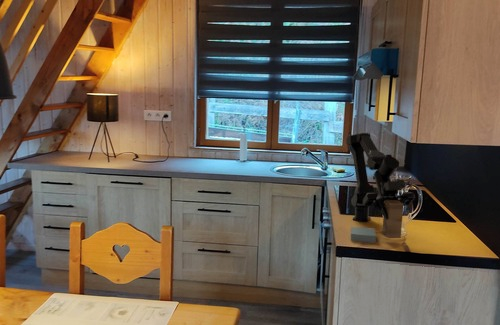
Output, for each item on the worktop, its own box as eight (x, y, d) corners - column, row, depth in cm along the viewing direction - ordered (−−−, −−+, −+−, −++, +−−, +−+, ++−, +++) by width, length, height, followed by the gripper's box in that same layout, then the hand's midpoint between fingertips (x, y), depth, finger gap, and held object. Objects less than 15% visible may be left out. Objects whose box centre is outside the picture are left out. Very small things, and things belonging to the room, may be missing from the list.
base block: (350, 233, 178) (351, 226, 178) (374, 235, 177) (374, 228, 176) (350, 241, 170) (351, 233, 169) (375, 243, 168) (375, 236, 167)
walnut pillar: (382, 233, 170) (384, 200, 168) (394, 233, 171) (397, 200, 169) (387, 238, 166) (390, 204, 163) (400, 237, 166) (403, 203, 164)
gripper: (367, 171, 167) (377, 208, 158) (415, 171, 169) (427, 207, 160) (358, 187, 176) (367, 223, 167) (403, 187, 178) (414, 222, 169)
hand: (394, 219), depth 166 cm, fingers closed on walnut pillar, 5 cm apart
